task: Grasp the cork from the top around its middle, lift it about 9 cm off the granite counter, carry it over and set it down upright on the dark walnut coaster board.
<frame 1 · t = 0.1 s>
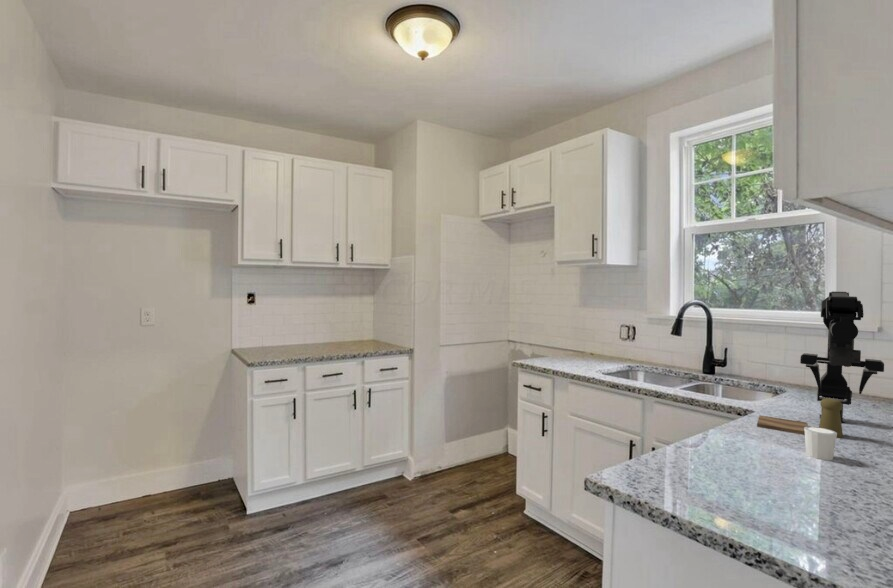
hand: (839, 391, 139), 14 cm above the worktop, tool pointing down, fingers open, 9 cm apart
white faceted cup: (819, 457, 124), on the worktop
walnut coaster board: (782, 426, 152), on the worktop
cork: (830, 435, 144), on the worktop
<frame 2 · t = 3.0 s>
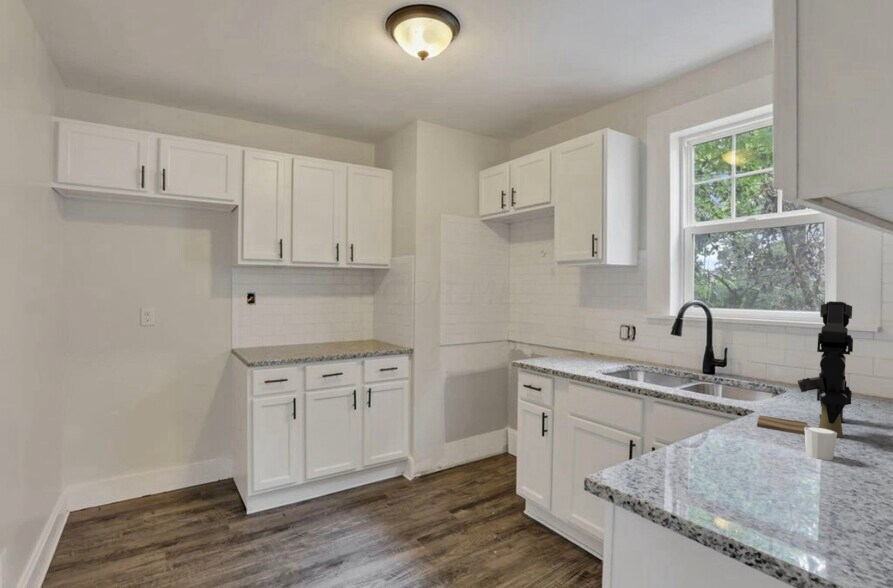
hand: (830, 421, 144), 4 cm above the worktop, tool pointing down, fingers closed on cork, 4 cm apart
cork: (830, 435, 144), on the worktop, touching gripper
everything else where it was.
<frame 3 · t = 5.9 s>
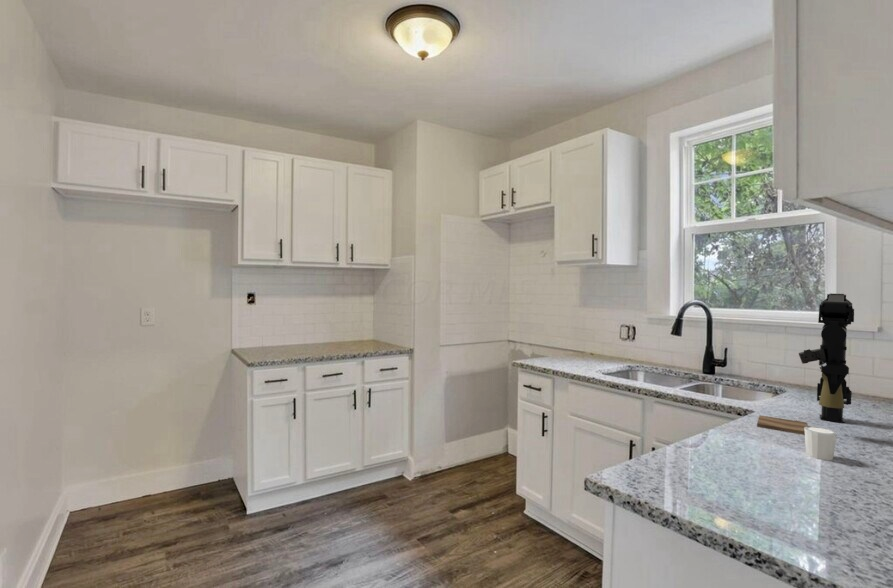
hand: (831, 392, 144), 13 cm above the worktop, tool pointing down, fingers closed on cork, 4 cm apart
cork: (831, 406, 144), point 9 cm above the worktop, touching gripper
everything else where it was.
when the fingers open (6 cm above the worktop, at t = 9.1 s): cork drops 1 cm, resting on walnut coaster board.
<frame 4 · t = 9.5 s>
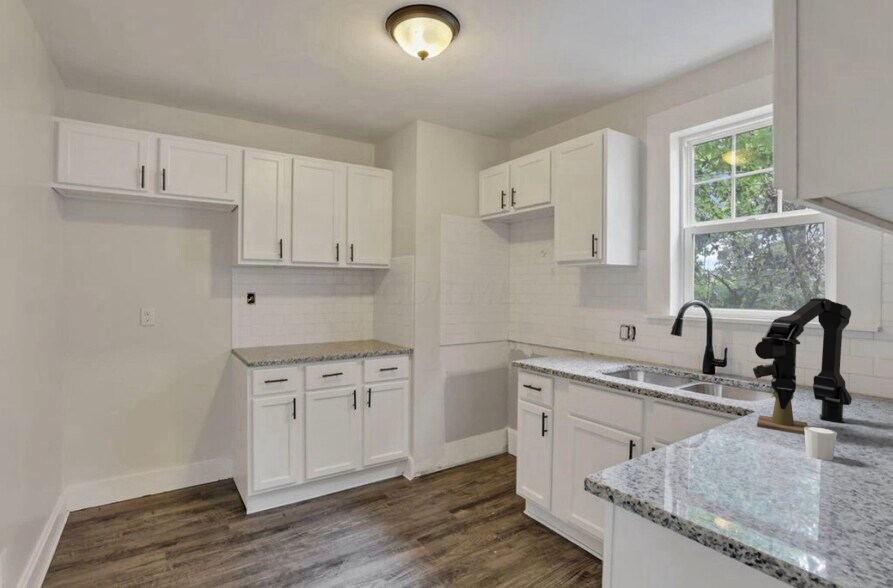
hand: (783, 406, 152), 6 cm above the worktop, tool pointing down, fingers open, 9 cm apart
cork: (782, 423, 152), point 1 cm above the worktop, touching walnut coaster board
everything else where it was.
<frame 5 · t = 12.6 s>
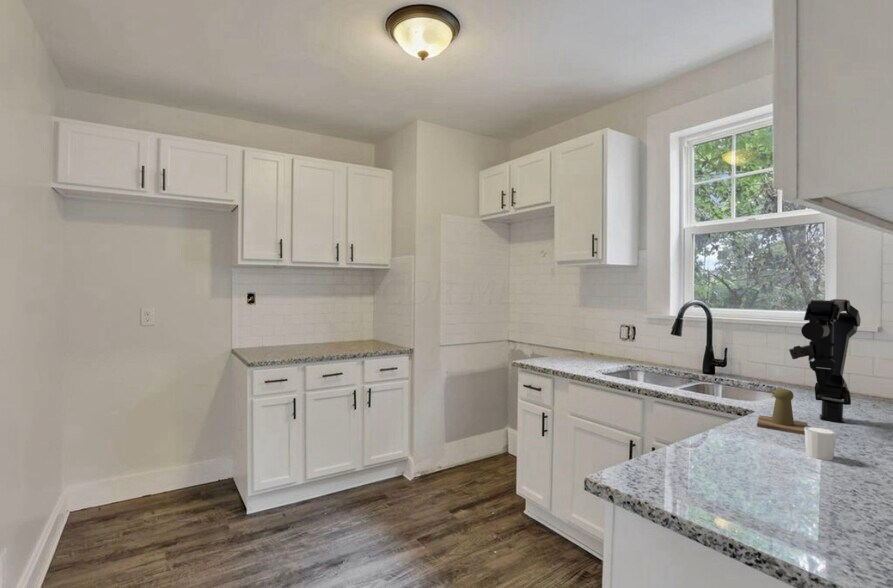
hand: (820, 386, 153), 13 cm above the worktop, tool pointing down, fingers open, 9 cm apart
nothing on the worktop moved.
at the end: cork inside the target area on the walnut coaster board (0.0 cm from its centre), point 0.8 cm above the walnut coaster board's base; cork tilted 0°; the gripper is holding nothing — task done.
